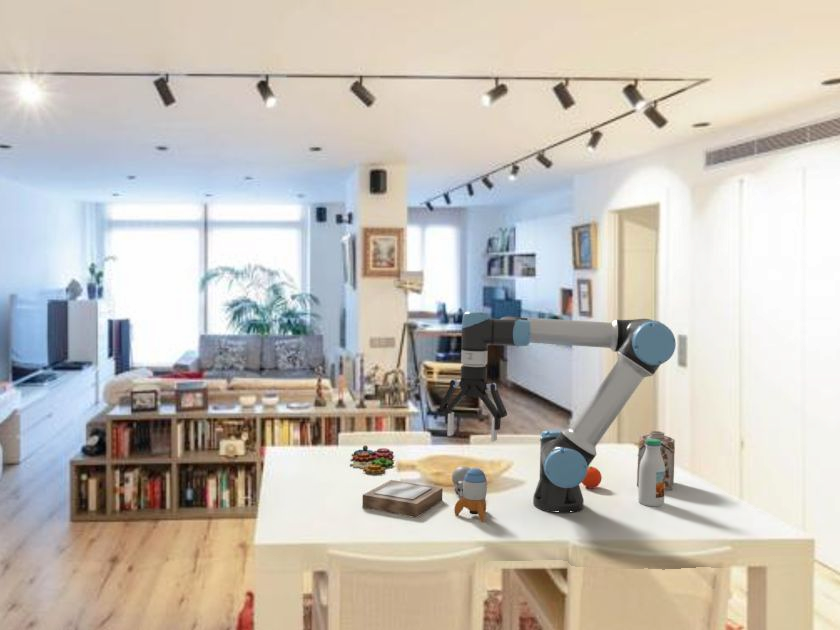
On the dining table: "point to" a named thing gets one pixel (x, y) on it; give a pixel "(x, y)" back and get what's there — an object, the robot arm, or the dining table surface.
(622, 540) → the dining table surface
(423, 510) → the plinth
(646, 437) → the decorative jar
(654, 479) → the milk bottle
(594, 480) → the clementine
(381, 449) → the gear puzzle
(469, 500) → the toy rocket
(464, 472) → the round bodied animal figurine
